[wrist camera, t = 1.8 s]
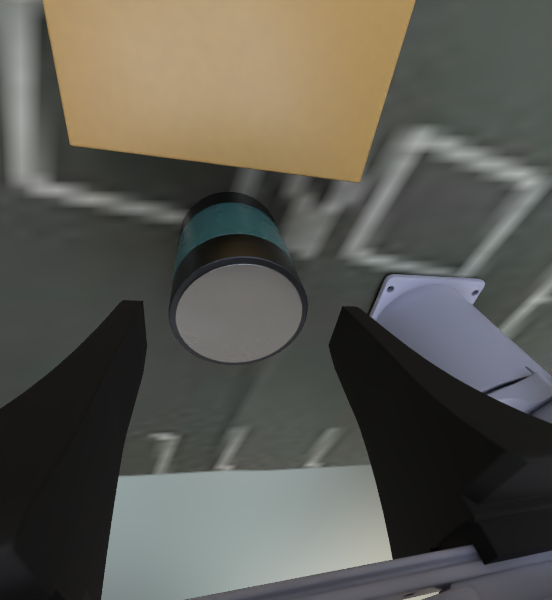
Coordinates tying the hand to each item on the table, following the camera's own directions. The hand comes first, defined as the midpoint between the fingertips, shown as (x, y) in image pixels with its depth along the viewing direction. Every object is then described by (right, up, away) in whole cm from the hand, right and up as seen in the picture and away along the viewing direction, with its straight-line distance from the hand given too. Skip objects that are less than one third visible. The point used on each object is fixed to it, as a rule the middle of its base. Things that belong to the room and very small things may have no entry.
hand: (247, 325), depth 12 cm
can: (-2, +4, +6) cm, 8 cm away
